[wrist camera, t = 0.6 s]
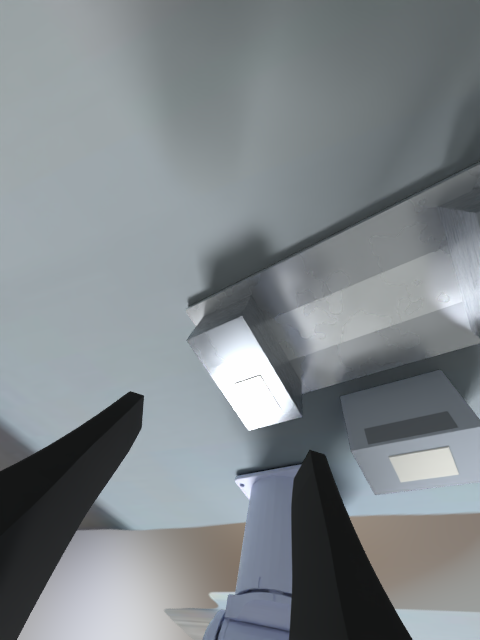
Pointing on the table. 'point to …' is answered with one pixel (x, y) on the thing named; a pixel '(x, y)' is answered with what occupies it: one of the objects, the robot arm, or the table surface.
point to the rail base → (348, 304)
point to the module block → (413, 434)
